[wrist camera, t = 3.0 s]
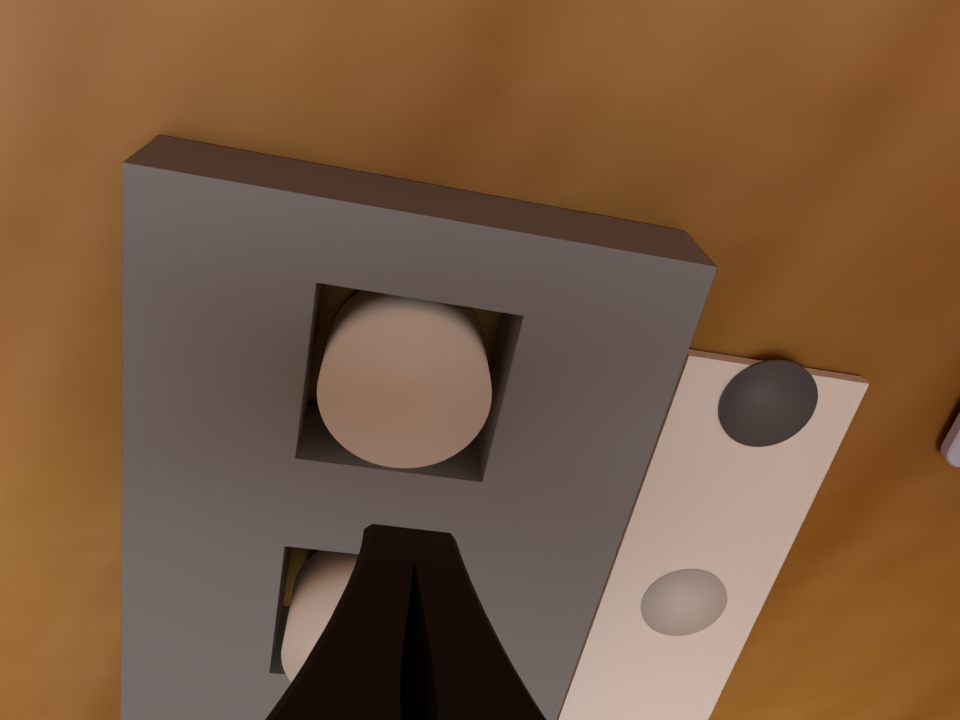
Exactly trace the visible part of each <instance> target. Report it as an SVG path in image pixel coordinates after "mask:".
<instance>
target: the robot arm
mask: <svg viewBox="0 0 960 720" xmlns="http://www.w3.org/2000/svg"><path fill="white" fill-rule="evenodd" d="M941 455H942V456H943V457H944V458H945V459H946V460H947V461H948V462H949V463H950V464H951V465H953V466H955V467H960V412H959V414H958V416H957V418H956V420H955V421H954V423H953V425H952V427H951V429H950V431H949V432H948V434H947V436H946V438H945V440H944V442H943V443H942V446H941ZM265 720H547V719H546V718H545V717H544V715H543V714H542V712H541V710H540V709H539V707H538V706H537V704H536V703H535V701H534V700H533V698H532V696H531V695H530V693H529V692H528V690H527V688H526V687H525V685H524V683H523V682H522V680H521V678H520V676H519V675H518V673H517V671H516V670H515V668H514V666H513V664H512V663H511V661H510V659H509V657H508V655H507V654H506V652H505V650H504V648H503V646H502V644H501V642H500V640H499V638H498V637H497V635H496V633H495V631H494V629H493V627H492V625H491V623H490V621H489V619H488V617H487V615H486V613H485V611H484V608H483V606H482V604H481V602H480V600H479V598H478V595H477V593H476V591H475V589H474V586H473V584H472V582H471V579H470V577H469V574H468V572H467V570H466V567H465V564H464V562H463V559H462V556H461V554H460V551H459V548H458V545H457V542H456V539H455V538H454V537H453V536H452V534H451V533H447V532H438V531H430V530H421V529H413V528H404V527H396V526H387V525H379V524H371V525H370V526H368V527H366V528H365V529H364V533H363V538H362V544H361V548H360V552H359V555H358V558H357V561H356V564H355V566H354V569H353V571H352V574H351V576H350V579H349V581H348V583H347V586H346V588H345V590H344V592H343V594H342V596H341V598H340V600H339V602H338V604H337V606H336V608H335V610H334V612H333V614H332V616H331V618H330V620H329V622H328V624H327V625H326V627H325V629H324V630H323V632H322V634H321V636H320V637H319V639H318V641H317V642H316V644H315V646H314V647H313V649H312V651H311V652H310V654H309V656H308V657H307V659H306V661H305V663H304V664H303V666H302V667H301V669H300V670H299V672H298V673H297V675H296V676H295V678H294V679H293V681H292V682H291V684H290V685H289V687H288V688H287V690H286V691H285V693H284V694H283V695H282V697H281V698H280V700H279V701H278V702H277V704H276V705H275V707H274V708H273V709H272V711H271V712H270V714H269V715H268V716H267V718H266V719H265Z"/></svg>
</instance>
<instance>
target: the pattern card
mask: <svg viewBox="0 0 960 720" xmlns="http://www.w3.org/2000/svg"><path fill="white" fill-rule="evenodd" d="M868 386H869V383H868V382H867V381H866V380H865V379H864V378H863V377H862V376H855V375H849V374H843V373H836V372H830V371H824V370H817V369H811V368H805V367H802V366H801V365H799V364H797V363H795V362H792V361H789V360H783V359H771V360H765V361H761V360H754V359H748V358H742V357H736V356H729V355H723V354H717V353H710V352H704V351H698V350H691V349H688V352H687V355H686V358H685V360H684V363H683V366H682V369H681V372H680V374H679V377H678V380H677V383H676V386H675V388H674V391H673V394H672V397H671V400H670V402H669V405H668V408H667V411H666V414H665V416H664V419H663V422H662V425H661V428H660V430H659V433H658V436H657V439H656V442H655V444H654V447H653V450H652V453H651V456H650V458H649V461H648V464H647V467H646V470H645V472H644V475H643V478H642V481H641V484H640V486H639V489H638V492H637V495H636V498H635V500H634V503H633V506H632V509H631V512H630V514H629V517H628V520H627V523H626V526H625V528H624V531H623V534H622V537H621V540H620V542H619V545H618V548H617V551H616V554H615V556H614V559H613V562H612V565H611V568H610V570H609V573H608V576H607V579H606V582H605V584H604V587H603V590H602V593H601V596H600V598H599V601H598V604H597V607H596V610H595V612H594V615H593V618H592V621H591V624H590V627H589V629H588V632H587V635H586V638H585V641H584V643H583V646H582V649H581V652H580V655H579V657H578V660H577V663H576V666H575V669H574V671H573V674H572V677H571V680H570V683H569V685H568V688H567V691H566V694H565V697H564V699H563V702H562V705H561V708H560V711H559V713H558V716H557V719H556V720H708V719H709V717H710V715H711V713H712V711H713V708H714V706H715V704H716V702H717V700H718V698H719V696H720V694H721V692H722V690H723V688H724V686H725V683H726V681H727V679H728V677H729V675H730V673H731V671H732V669H733V667H734V665H735V663H736V661H737V658H738V656H739V654H740V652H741V650H742V648H743V646H744V644H745V642H746V640H747V638H748V636H749V633H750V631H751V629H752V627H753V625H754V623H755V621H756V619H757V617H758V615H759V613H760V611H761V608H762V606H763V604H764V602H765V600H766V598H767V596H768V594H769V592H770V590H771V588H772V586H773V583H774V581H775V579H776V577H777V575H778V573H779V571H780V569H781V567H782V565H783V563H784V561H785V558H786V556H787V554H788V552H789V550H790V548H791V546H792V544H793V542H794V540H795V538H796V536H797V533H798V531H799V529H800V527H801V525H802V523H803V521H804V519H805V517H806V515H807V513H808V511H809V508H810V506H811V504H812V502H813V500H814V498H815V496H816V494H817V492H818V490H819V488H820V486H821V483H822V481H823V479H824V477H825V475H826V473H827V471H828V469H829V467H830V465H831V463H832V461H833V458H834V456H835V454H836V452H837V450H838V448H839V446H840V444H841V442H842V440H843V438H844V436H845V434H846V431H847V429H848V427H849V425H850V423H851V421H852V419H853V417H854V415H855V413H856V411H857V409H858V406H859V404H860V402H861V400H862V398H863V396H864V394H865V392H866V390H867V388H868Z"/></svg>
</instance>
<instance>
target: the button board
mask: <svg viewBox="0 0 960 720" xmlns="http://www.w3.org/2000/svg"><path fill="white" fill-rule="evenodd" d="M717 268H718V267H717V266H716V265H715V263H714V262H713V261H712V260H711V259H710V258H709V257H708V256H707V255H706V254H705V253H704V251H703V250H702V249H701V248H700V247H699V246H698V245H697V244H696V243H695V242H694V241H693V239H692V238H691V237H690V236H689V235H688V234H687V233H686V232H685V231H684V230H678V229H673V228H667V227H662V226H656V225H651V224H645V223H640V222H634V221H629V220H623V219H618V218H612V217H607V216H601V215H596V214H590V213H585V212H579V211H574V210H568V209H563V208H557V207H552V206H546V205H541V204H535V203H530V202H525V201H519V200H514V199H508V198H503V197H497V196H492V195H486V194H481V193H475V192H470V191H464V190H459V189H453V188H448V187H442V186H437V185H431V184H426V183H420V182H415V181H409V180H404V179H398V178H393V177H387V176H382V175H376V174H371V173H365V172H360V171H354V170H349V169H343V168H338V167H333V166H327V165H322V164H316V163H311V162H305V161H300V160H294V159H289V158H283V157H278V156H272V155H267V154H261V153H256V152H250V151H245V150H239V149H234V148H228V147H223V146H217V145H212V144H206V143H201V142H195V141H190V140H184V139H179V138H173V137H168V136H162V135H158V136H157V137H156V138H154V139H153V140H152V141H150V142H149V143H148V144H146V145H145V146H144V147H142V148H141V149H140V150H138V151H137V152H136V153H135V154H133V155H132V156H131V157H129V158H128V159H127V160H125V161H124V162H123V255H122V529H121V720H265V719H266V718H267V716H268V715H269V714H270V712H271V711H272V709H273V708H274V707H275V705H276V704H277V702H278V701H279V700H280V698H281V697H282V695H283V694H284V693H285V691H286V690H287V688H288V687H289V685H290V684H291V681H290V680H289V679H288V677H287V675H286V673H285V671H284V669H283V666H282V660H281V650H282V645H283V639H284V634H285V629H286V624H287V619H288V613H289V608H285V607H283V601H284V593H285V585H286V577H287V569H288V560H289V552H290V547H297V548H306V549H315V550H324V551H333V552H342V553H351V554H359V552H360V548H361V544H362V538H363V533H364V529H365V528H366V527H368V526H370V525H371V524H379V525H387V526H396V527H404V528H413V529H421V530H430V531H438V532H447V533H451V534H452V536H453V537H454V538H455V539H456V542H457V545H458V548H459V551H460V554H461V556H462V559H463V562H464V564H465V567H466V570H467V572H468V574H469V577H470V579H471V582H472V584H473V586H474V589H475V591H476V593H477V595H478V598H479V600H480V602H481V604H482V606H483V608H484V611H485V613H486V615H487V617H488V619H489V621H490V623H491V625H492V627H493V629H494V631H495V633H496V635H497V637H498V638H499V640H500V642H501V644H502V646H503V648H504V650H505V652H506V654H507V655H508V657H509V659H510V661H511V663H512V664H513V666H514V668H515V670H516V671H517V673H518V675H519V676H520V678H521V680H522V682H523V683H524V685H525V687H526V688H527V690H528V692H529V693H530V695H531V696H532V698H533V700H534V701H535V703H536V704H537V706H538V707H539V709H540V710H541V712H542V714H543V715H544V717H545V718H546V719H547V720H556V719H557V716H558V713H559V711H560V708H561V705H562V702H563V699H564V697H565V694H566V691H567V688H568V685H569V683H570V680H571V677H572V674H573V671H574V669H575V666H576V663H577V660H578V657H579V655H580V652H581V649H582V646H583V643H584V641H585V638H586V635H587V632H588V629H589V627H590V624H591V621H592V618H593V615H594V612H595V610H596V607H597V604H598V601H599V598H600V596H601V593H602V590H603V587H604V584H605V582H606V579H607V576H608V573H609V570H610V568H611V565H612V562H613V559H614V556H615V554H616V551H617V548H618V545H619V542H620V540H621V537H622V534H623V531H624V528H625V526H626V523H627V520H628V517H629V514H630V512H631V509H632V506H633V503H634V500H635V498H636V495H637V492H638V489H639V486H640V484H641V481H642V478H643V475H644V472H645V470H646V467H647V464H648V461H649V458H650V456H651V453H652V450H653V447H654V444H655V442H656V439H657V436H658V433H659V430H660V428H661V425H662V422H663V419H664V416H665V414H666V411H667V408H668V405H669V402H670V400H671V397H672V394H673V391H674V388H675V386H676V383H677V380H678V377H679V374H680V372H681V369H682V366H683V363H684V360H685V358H686V355H687V352H688V349H689V346H690V344H691V341H692V338H693V335H694V332H695V330H696V327H697V324H698V321H699V318H700V316H701V313H702V310H703V307H704V304H705V302H706V299H707V296H708V293H709V290H710V288H711V285H712V282H713V279H714V276H715V273H716V271H717ZM323 284H328V285H334V286H340V287H347V288H353V289H359V290H365V291H372V292H378V293H384V294H390V295H396V296H403V297H409V298H415V299H421V300H428V301H434V302H440V303H446V304H453V305H459V306H465V307H471V308H478V309H484V310H490V311H496V312H503V316H502V320H501V324H500V329H499V333H498V337H497V341H496V346H495V350H494V354H493V358H492V363H491V367H490V371H489V373H490V379H491V387H492V400H491V406H490V410H489V414H488V417H487V419H486V421H485V423H484V425H483V427H482V429H481V430H480V432H479V433H478V435H477V436H476V437H475V438H474V439H473V440H472V441H471V443H469V444H468V445H467V446H466V447H465V448H464V449H463V450H461V451H460V452H458V453H457V454H455V455H453V456H452V457H450V458H448V459H446V460H443V461H441V462H438V463H436V464H432V465H428V466H424V467H417V468H391V467H386V466H381V465H377V464H374V463H371V462H368V461H366V460H364V459H361V458H360V457H358V456H356V455H354V454H353V453H351V452H350V451H348V450H347V449H346V448H344V447H343V446H342V445H341V444H340V443H339V442H338V441H337V440H336V439H335V438H334V437H333V435H332V434H331V433H330V432H329V430H328V428H327V427H326V425H325V423H324V421H323V419H322V417H321V414H320V411H319V407H318V406H311V405H308V399H309V391H310V383H311V375H312V366H313V358H314V350H315V342H316V334H317V326H318V318H319V310H320V302H321V294H322V286H323Z"/></svg>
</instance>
